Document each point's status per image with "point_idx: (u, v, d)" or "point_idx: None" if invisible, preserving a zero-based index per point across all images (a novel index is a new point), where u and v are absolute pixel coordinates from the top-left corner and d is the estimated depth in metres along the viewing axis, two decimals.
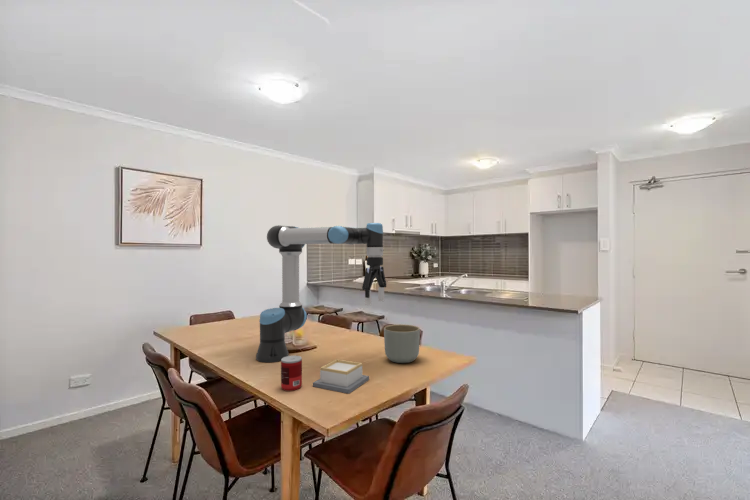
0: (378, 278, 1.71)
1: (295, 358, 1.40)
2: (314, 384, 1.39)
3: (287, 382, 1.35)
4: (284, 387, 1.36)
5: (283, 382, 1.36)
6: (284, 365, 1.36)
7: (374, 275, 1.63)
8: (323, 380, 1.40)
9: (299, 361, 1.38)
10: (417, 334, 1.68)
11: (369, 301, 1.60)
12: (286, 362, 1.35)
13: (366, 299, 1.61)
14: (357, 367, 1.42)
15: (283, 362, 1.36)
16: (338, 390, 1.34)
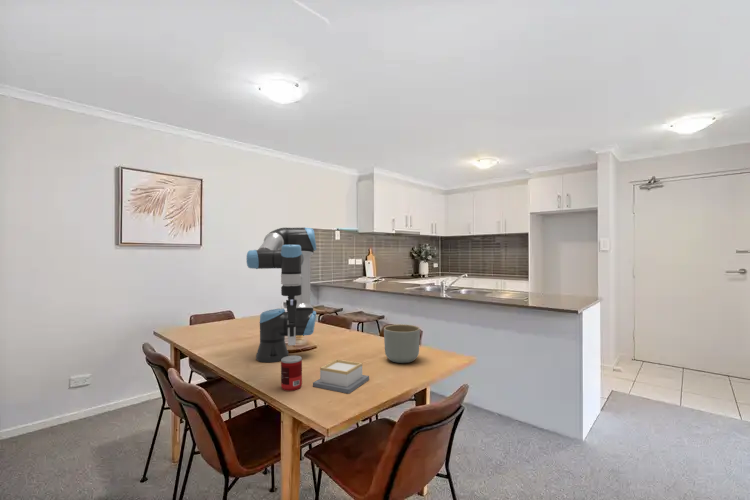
0: None
1: (295, 358, 1.40)
2: (314, 384, 1.39)
3: (287, 382, 1.35)
4: (284, 387, 1.36)
5: (283, 382, 1.36)
6: (284, 365, 1.36)
7: (295, 308, 1.36)
8: (323, 380, 1.40)
9: (299, 361, 1.38)
10: (417, 334, 1.68)
11: (294, 340, 1.32)
12: (286, 362, 1.35)
13: (289, 339, 1.32)
14: (357, 367, 1.42)
15: (283, 362, 1.36)
16: (338, 390, 1.34)
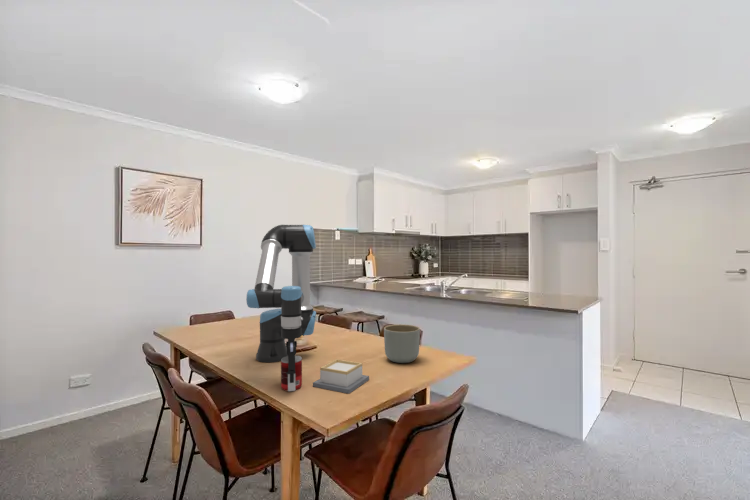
0: None
1: (295, 358, 1.40)
2: (314, 384, 1.39)
3: (287, 382, 1.35)
4: (284, 387, 1.36)
5: (283, 382, 1.36)
6: (284, 365, 1.36)
7: (295, 352, 1.37)
8: (323, 380, 1.40)
9: (299, 361, 1.38)
10: (417, 334, 1.68)
11: (294, 386, 1.35)
12: (286, 362, 1.35)
13: (289, 385, 1.34)
14: (357, 367, 1.42)
15: (283, 362, 1.36)
16: (338, 390, 1.34)
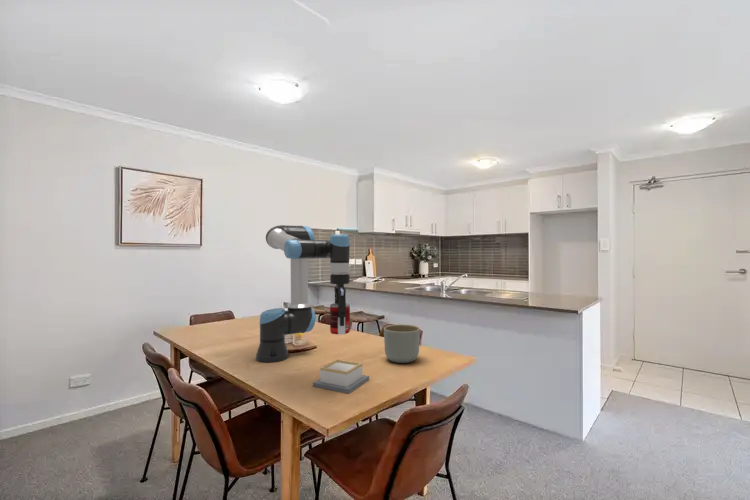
0: None
1: None
2: (314, 384, 1.39)
3: (337, 326, 1.39)
4: (334, 331, 1.40)
5: (333, 326, 1.40)
6: (334, 309, 1.40)
7: None
8: (323, 380, 1.40)
9: (348, 306, 1.41)
10: (417, 334, 1.68)
11: (343, 329, 1.39)
12: (336, 306, 1.39)
13: (340, 328, 1.38)
14: (357, 367, 1.42)
15: (333, 307, 1.40)
16: (338, 390, 1.34)
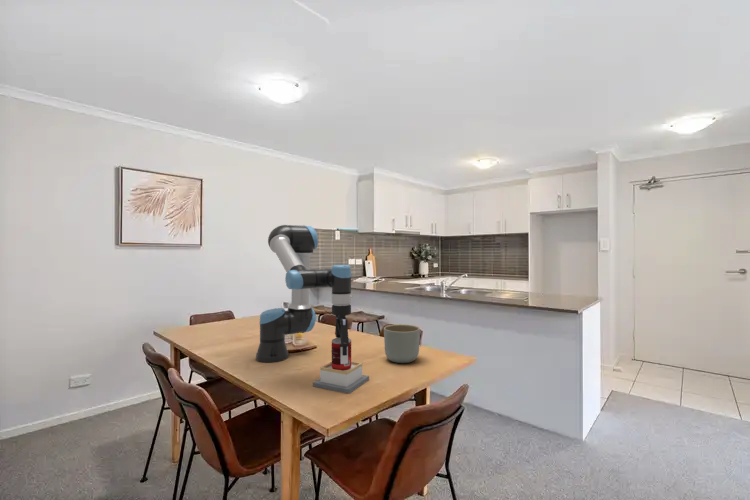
0: None
1: None
2: (314, 384, 1.39)
3: (339, 363, 1.39)
4: (335, 367, 1.40)
5: (334, 362, 1.40)
6: (335, 346, 1.40)
7: None
8: (323, 380, 1.40)
9: (349, 342, 1.42)
10: (417, 334, 1.68)
11: (346, 359, 1.37)
12: (337, 343, 1.40)
13: (342, 357, 1.36)
14: (357, 367, 1.42)
15: (334, 343, 1.40)
16: (338, 390, 1.34)
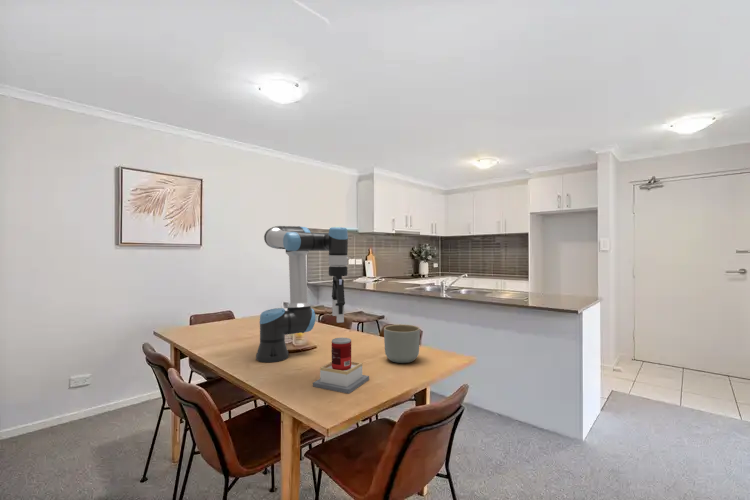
0: (336, 290, 1.50)
1: (345, 339, 1.44)
2: (314, 384, 1.39)
3: (339, 363, 1.39)
4: (335, 367, 1.40)
5: (334, 362, 1.40)
6: (335, 346, 1.40)
7: None
8: (323, 380, 1.40)
9: (349, 342, 1.42)
10: (417, 334, 1.68)
11: (342, 318, 1.39)
12: (337, 343, 1.40)
13: (338, 316, 1.39)
14: (357, 367, 1.42)
15: (334, 343, 1.40)
16: (338, 390, 1.34)
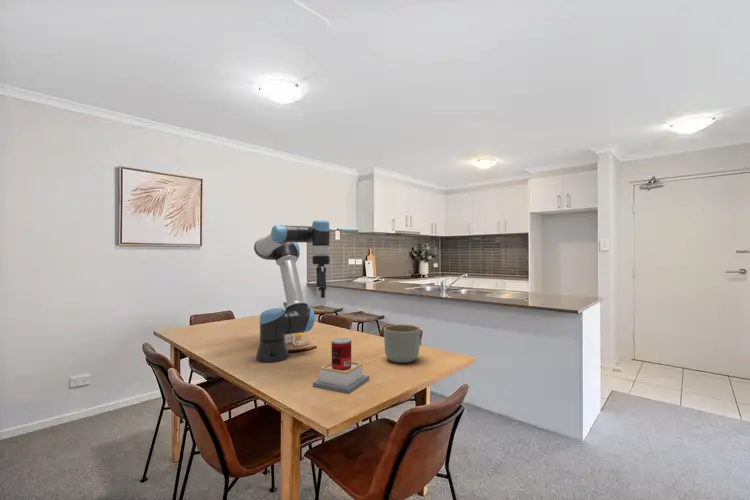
0: None
1: (345, 339, 1.44)
2: (314, 384, 1.39)
3: (339, 363, 1.39)
4: (335, 367, 1.40)
5: (334, 362, 1.40)
6: (335, 346, 1.40)
7: None
8: (323, 380, 1.40)
9: (349, 342, 1.42)
10: (417, 334, 1.68)
11: (324, 301, 1.55)
12: (337, 343, 1.40)
13: (321, 300, 1.55)
14: (357, 367, 1.42)
15: (334, 343, 1.40)
16: (338, 390, 1.34)
